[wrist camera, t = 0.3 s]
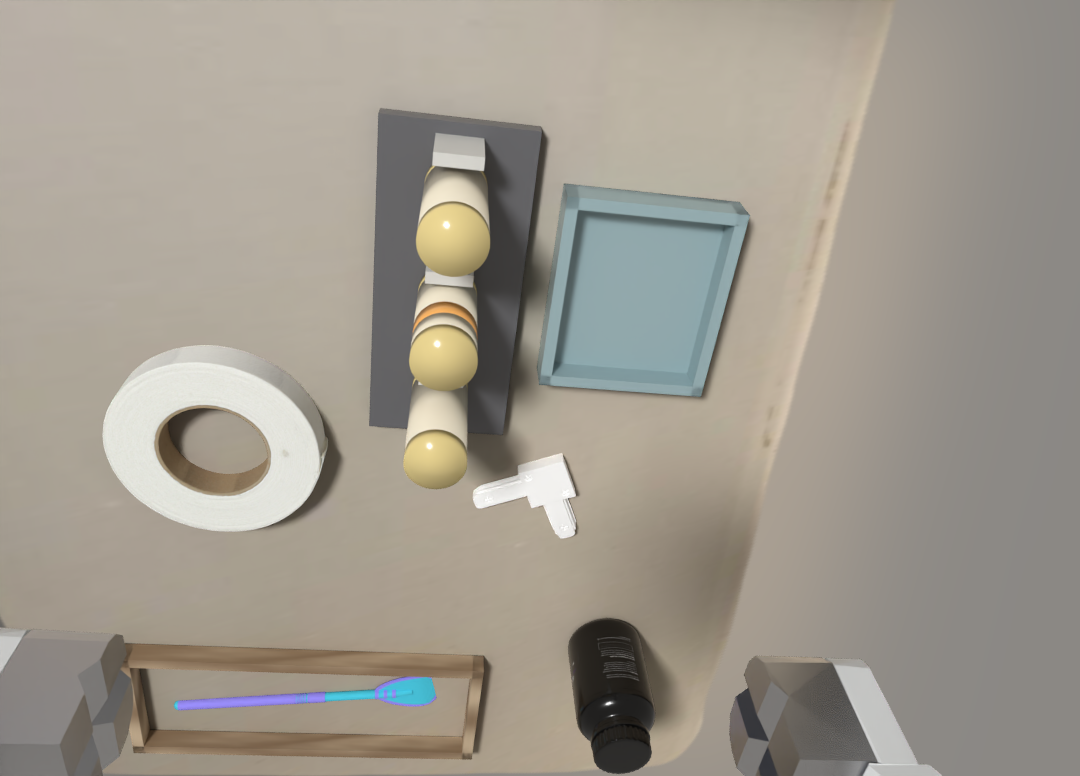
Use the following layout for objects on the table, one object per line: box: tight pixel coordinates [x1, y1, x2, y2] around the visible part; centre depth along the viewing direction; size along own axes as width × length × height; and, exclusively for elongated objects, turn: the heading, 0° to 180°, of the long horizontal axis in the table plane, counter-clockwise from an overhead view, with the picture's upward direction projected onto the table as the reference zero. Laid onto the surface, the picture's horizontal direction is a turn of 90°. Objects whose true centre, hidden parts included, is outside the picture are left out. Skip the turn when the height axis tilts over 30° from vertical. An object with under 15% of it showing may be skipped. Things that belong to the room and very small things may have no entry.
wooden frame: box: [120, 643, 484, 759], centre depth 80 cm, size 13×32×2 cm, turn 83°
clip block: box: [369, 108, 542, 435], centre depth 57 cm, size 23×10×5 cm, turn 173°
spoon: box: [174, 677, 436, 710], centre depth 80 cm, size 25×4×1 cm, turn 88°
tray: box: [537, 184, 750, 397], centre depth 59 cm, size 14×12×2 cm
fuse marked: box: [409, 275, 478, 391], centre depth 54 cm, size 4×4×10 cm
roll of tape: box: [103, 345, 328, 531], centre depth 63 cm, size 16×15×3 cm
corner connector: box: [473, 453, 576, 538], centre depth 69 cm, size 8×8×2 cm
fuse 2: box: [404, 377, 468, 489], centre depth 58 cm, size 4×4×10 cm
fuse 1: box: [416, 165, 490, 277], centre depth 50 cm, size 4×4×10 cm
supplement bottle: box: [568, 619, 656, 774], centre depth 74 cm, size 7×7×12 cm
